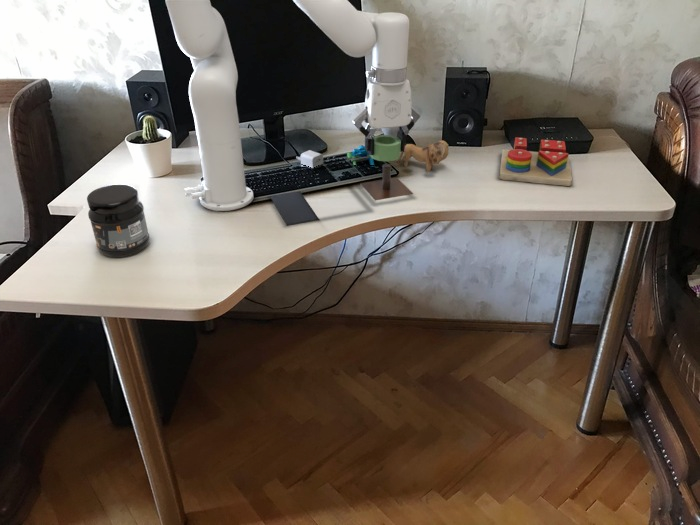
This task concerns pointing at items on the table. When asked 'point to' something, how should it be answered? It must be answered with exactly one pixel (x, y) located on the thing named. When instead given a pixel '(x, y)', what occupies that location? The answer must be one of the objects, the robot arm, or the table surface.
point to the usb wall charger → (311, 159)
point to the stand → (386, 186)
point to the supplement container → (118, 220)
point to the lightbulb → (391, 131)
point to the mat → (294, 208)
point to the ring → (386, 148)
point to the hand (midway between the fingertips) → (385, 150)
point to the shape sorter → (537, 163)
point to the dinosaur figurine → (360, 155)
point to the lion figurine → (425, 154)
